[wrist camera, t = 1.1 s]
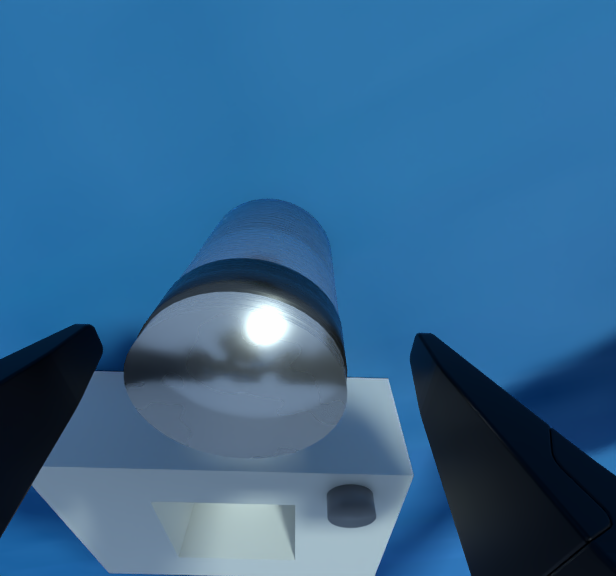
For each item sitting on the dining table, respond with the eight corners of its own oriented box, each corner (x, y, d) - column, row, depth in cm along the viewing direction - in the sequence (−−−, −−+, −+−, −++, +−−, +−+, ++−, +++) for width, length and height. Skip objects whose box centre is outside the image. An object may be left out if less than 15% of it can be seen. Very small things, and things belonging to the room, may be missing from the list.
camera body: (388, 378, 17) (419, 497, 12) (362, 490, 23) (375, 597, 18) (89, 370, 17) (-3, 487, 12) (146, 484, 23) (101, 590, 18)
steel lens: (337, 199, 12) (362, 310, 6) (328, 309, 14) (340, 461, 8) (200, 195, 12) (85, 303, 6) (218, 306, 14) (152, 456, 8)
